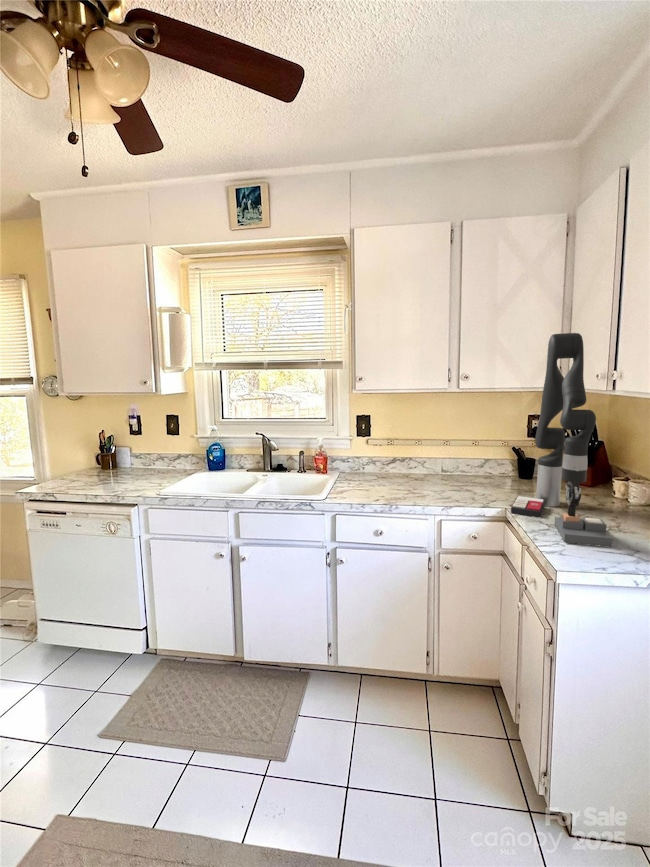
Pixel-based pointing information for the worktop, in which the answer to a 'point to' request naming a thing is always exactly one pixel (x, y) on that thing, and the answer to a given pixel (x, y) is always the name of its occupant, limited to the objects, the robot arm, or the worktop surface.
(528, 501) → the calculator
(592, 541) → the push button base
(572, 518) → the peach key
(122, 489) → the worktop surface
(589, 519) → the cream key
